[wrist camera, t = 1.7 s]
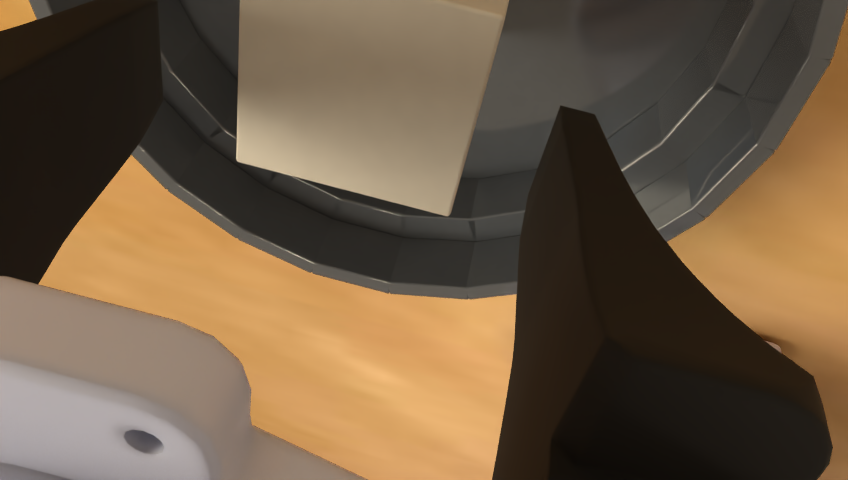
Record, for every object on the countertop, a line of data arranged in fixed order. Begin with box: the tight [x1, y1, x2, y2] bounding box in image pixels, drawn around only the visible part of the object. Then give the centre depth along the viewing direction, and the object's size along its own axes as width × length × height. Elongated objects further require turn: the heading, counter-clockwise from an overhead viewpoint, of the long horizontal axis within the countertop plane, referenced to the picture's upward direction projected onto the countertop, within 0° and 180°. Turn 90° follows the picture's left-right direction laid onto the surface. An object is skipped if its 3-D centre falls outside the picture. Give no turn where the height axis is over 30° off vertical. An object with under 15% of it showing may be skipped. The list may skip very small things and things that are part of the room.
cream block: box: [236, 0, 509, 216], centre depth 17 cm, size 4×4×8 cm
